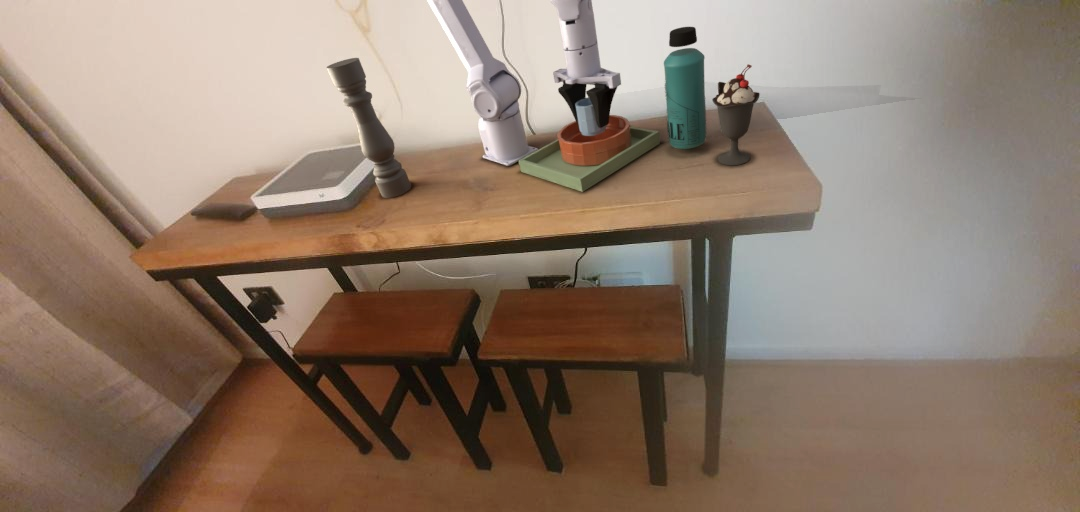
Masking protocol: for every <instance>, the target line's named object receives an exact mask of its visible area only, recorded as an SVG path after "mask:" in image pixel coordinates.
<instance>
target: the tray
mask: <svg viewBox="0 0 1080 512" xmlns="http://www.w3.org/2000/svg"><path fill="white" fill-rule="evenodd" d="M630 131H631V140H632V146H630V147H629V148H627V149H625V150H624V151H622V152H620V153H619V154H617V155H615V156H614V157H612V158H611V159H609V160H607V161H606V162H604V163H602V164H598V165H589V166H580V165H573V164H569V163H567V162H565V161H564V160H563V159H562V156H561V151H560V145H559V141H558V138H557V139H555V140H554V141H552V142H550V143H547V144H545V145H544V146H542V147H540V148H539V149H538V150H537V151H535V152H533V153H531V154H529V155H528V156H526V157H524V158H522V159H520V160H518V165H519V169H520V172H521V173H524V174H527V175H529V176H532V177H536V178H539V179H541V180H544V181H548V182H551V183H554V184H556V185H557V184H558V185H560V186H563V187H566V188H570V189H572V190H574V191H575V190H576V191H579V192H582V193H583V192H585V191H586V190H588V189H590V188H591V187H593V186H595V185H597V184H598V183H599V182H601V181H603V180H604V179H606V178H607V177H609V176H610V175H612V174H614V173H615V172H617V171H618V170H620V169H622V168H623V167H625V166H626V165H628V164H630V163H631V162H633V161H634V160H636V159H638V158H639V157H641V156H642V155H644V154H646V153H647V152H649V151H651V150H652V149H654V148H655V147H657V146H659V145H660V144H661V142H660V139H661V138H660V131H659V130H658V131H657V130H654V129H647V128H642V127H636V126H630Z"/></svg>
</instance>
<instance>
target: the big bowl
mask: <svg viewBox="0 0 1080 512" xmlns="http://www.w3.org/2000/svg"><path fill="white" fill-rule="evenodd" d="M630 127H631V123H630V121H629V119H628V118H626V117H624V116H621V115H617V114H610V115H609V124H607V126H606V130H605V131H604V132H603V133H601V134H598V135H594V136H584V135H582V134H581V132H580V130H579V124H578V123H577V122H576V120H574V121H572V122H570V123H568V124H566V125H564V126H563V127H562V128H561V129H560V130H559V131H558V133H557V139H558V141H559V145H560V151H561V156H562V159H563V160H564V161H565V162H567V163H569V164H573V165H580V166H589V165H598V164H602V163H604V162H606V161H607V160H609V159H611V158H612V157H614V156H615V155H617V154H619V153H620V152H622V151H624V150H625V149H627V148H629V147H630V146H632V140H631V131H630Z"/></svg>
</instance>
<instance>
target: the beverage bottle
mask: <svg viewBox="0 0 1080 512" xmlns="http://www.w3.org/2000/svg"><path fill="white" fill-rule="evenodd" d="M668 40H669V41H668V46H669V47H672V48H680V49H676V50H674V51H671V52H669V54H668V55H667V56H666V58H665V59H664V61H663V67H664V91H665V92H664V94H665V95H664V97H665V100H666V116H667V117H666V118H667V120H666V121H667V122H666V123H667V124H666V128H667V129H666V130H667V139H668V142H669V145H670V146H671V147H672V148H675V149H681V150H687V149H688V150H689V149H694V148H697V147H700V146H701V145H704V143H705V142H706V139H707V133H708V132H707V131H708V128H707V126H708V125H707V124H708V123H707V117H706V116H707V107H706V94H705V90H706V89H705V59H706V57H705V55H704V54H703V52H701V51H700V49H698V48H695V47H688V46H692V45H693V44H695V43H697V42H698V36H697V30H696V27H695V26H683V27H677V28H675V29H672V30H670V31H669V39H668ZM682 47H685V48H682Z"/></svg>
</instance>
